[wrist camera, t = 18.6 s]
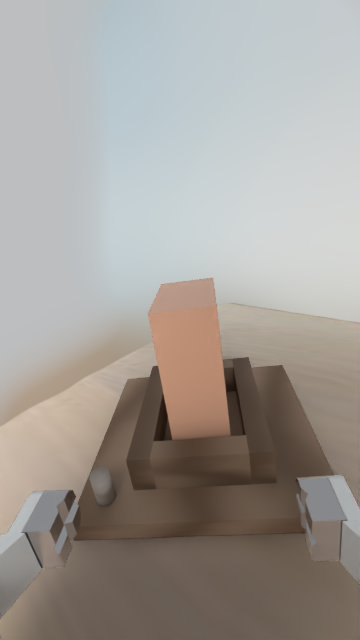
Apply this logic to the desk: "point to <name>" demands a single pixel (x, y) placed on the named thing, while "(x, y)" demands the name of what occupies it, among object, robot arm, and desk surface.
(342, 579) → the desk surface
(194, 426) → the keyed block
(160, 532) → the keyed holder
